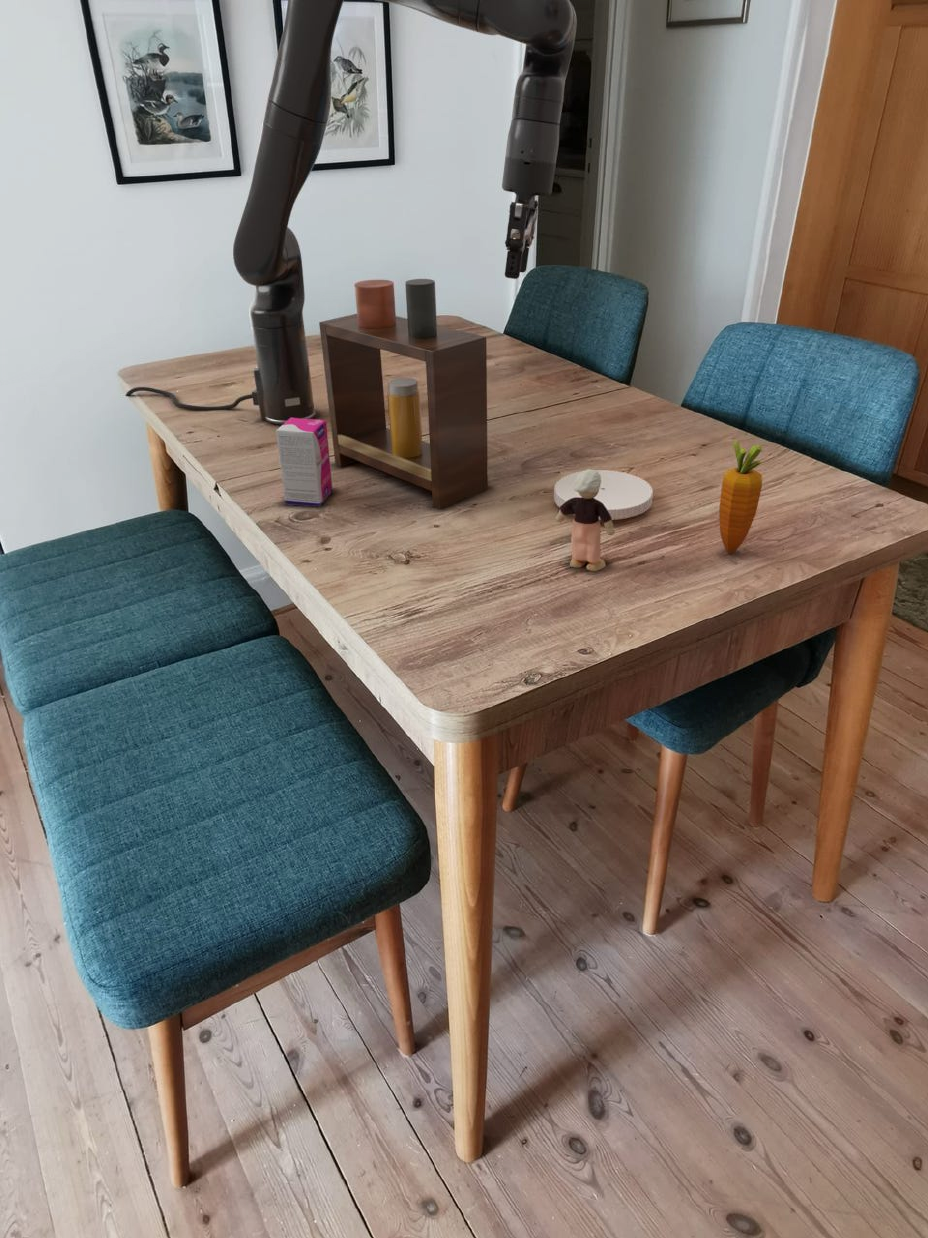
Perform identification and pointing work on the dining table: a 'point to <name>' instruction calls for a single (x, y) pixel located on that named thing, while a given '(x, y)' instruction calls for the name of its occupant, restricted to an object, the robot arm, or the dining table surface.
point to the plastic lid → (611, 493)
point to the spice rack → (452, 390)
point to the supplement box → (304, 461)
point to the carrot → (739, 498)
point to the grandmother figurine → (587, 521)
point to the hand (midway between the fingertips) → (515, 274)
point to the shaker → (405, 417)
